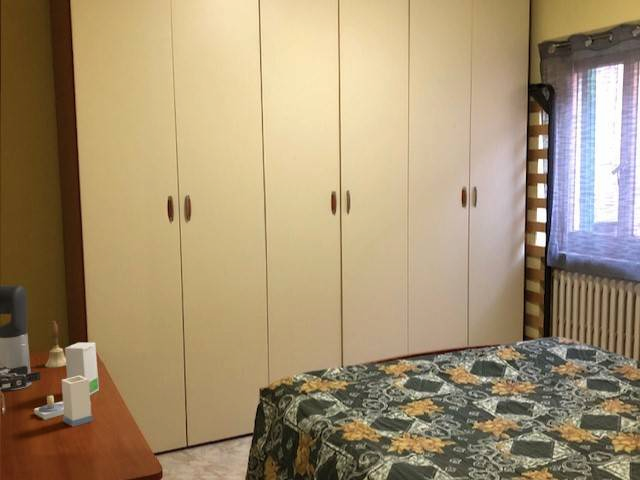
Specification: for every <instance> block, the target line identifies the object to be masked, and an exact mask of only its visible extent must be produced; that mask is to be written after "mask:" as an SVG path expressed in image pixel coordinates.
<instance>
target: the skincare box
mask: <svg viewBox="0 0 640 480" xmlns="http://www.w3.org/2000/svg"><path fill="white" fill-rule="evenodd" d="M64 356H65V358H66V365H65V368H66V379H67V378H71V377H75V376H79V375H80V376H83V377H85V378H87V379H89V391H90V396H91V395H93V394H94V393H95V394H96V392H98V391H99V389H100V387H99V386H100V385H99V374H98V363H97V360H98V359H97V349H96V342H76V343H74V344H71V345H69V346H67V347H65V348H64Z"/></svg>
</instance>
